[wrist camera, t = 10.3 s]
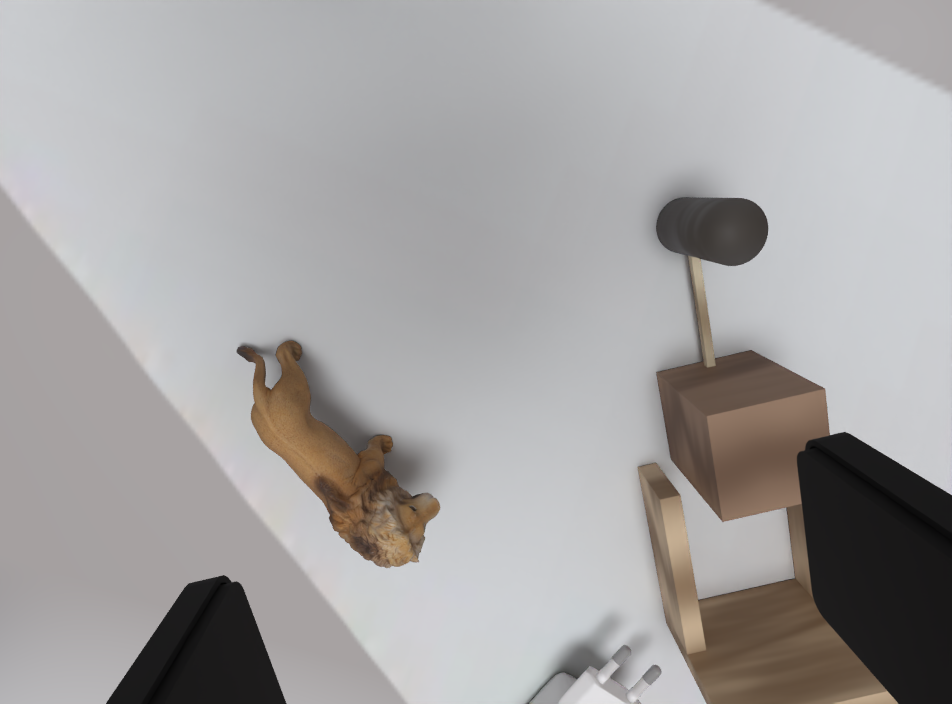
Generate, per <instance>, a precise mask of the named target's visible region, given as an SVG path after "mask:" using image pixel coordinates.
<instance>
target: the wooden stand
mask: <svg viewBox="0 0 952 704" xmlns="http://www.w3.org/2000/svg"><path fill="white" fill-rule="evenodd" d="M638 472H639V477H640V482H641V488H642V493H643V499H644V504H645V510H646V515H647V520H648V526H649V531H650V537H651V542H652V548H653V553H654V558H655V564H656V569H657V575H658V580H659V586H660V591H661V596H662V602H663V607H664V613H665V618H666V623H667V625H668V627H669V629H670V631H671V633H672V635H673V637H674V639H675V641H676V643H677V645H678V647H679V649H680V651H681V653H682V655H683V657H684V659H685V661H686V663H687V665H688V667H689V669H690V671H691V673H692V675H693V677H694V679H695V681H696V683H697V685H698V687H699V689H700V691H701V693H702V695H703V697H704V699H705V701H706V703H707V704H898V703H897V701H896V700H895V699H894V698H893V697H892V696H891V695H890V693H889V692H888V691H887V690H886V689H885V688H884V687H883V685H882V684H881V683H880V682H879V681H878V680H877V679H876V677H875V676H874V675H873V674H872V673H871V672H870V671H869V669H868V668H867V667H866V666H865V665H864V664H863V663H862V661H861V660H860V659H859V658H858V657H857V656H856V655H855V653H854V652H853V651H852V650H851V649H850V648H849V647H848V645H847V644H846V643H845V642H844V641H843V640H842V639H841V637H840V636H839V635H838V634H837V633H836V632H835V631H834V629H833V628H832V627H831V626H830V625H829V624H828V623H827V621H826V620H825V619H824V618H823V617H822V615H821V614H820V612H819V610H818V609H817V606H816V604H815V602H814V599H813V595H812V589H811V580H810V572H809V563H808V554H807V546H806V537H805V528H804V520H803V511H802V504H798V505H794V506H790V507H787V514H788V522H789V531H790V539H791V547H792V555H793V563H794V571H795V579H791V580H786V581H782V582H777V583H773V584H769V585H764V586H760V587H755V588H751V589H746V590H742V591H738V592H733V593H729V594H724V595H720V596H716V597H711V598H707V599H702V600H698V597H697V591H696V586H695V580H694V574H693V568H692V562H691V556H690V550H689V544H688V538H687V532H686V526H685V520H684V514H683V508H682V502H681V496H680V494H679V493H678V491H677V490H676V489H675V487H674V486H673V485H672V483H671V482H670V481H669V480H668V478H667V477H666V476H665V474H664V473H663V472H662V470H661V469H660V468H659V466H658V465H657V464H656V463H653V464H649V465H645V466H640V467H638Z"/></svg>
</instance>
